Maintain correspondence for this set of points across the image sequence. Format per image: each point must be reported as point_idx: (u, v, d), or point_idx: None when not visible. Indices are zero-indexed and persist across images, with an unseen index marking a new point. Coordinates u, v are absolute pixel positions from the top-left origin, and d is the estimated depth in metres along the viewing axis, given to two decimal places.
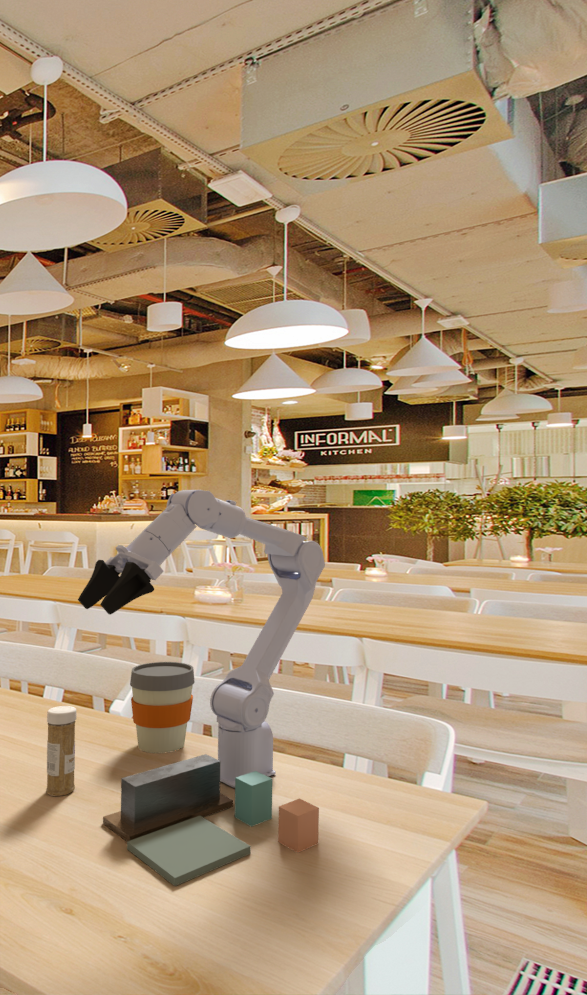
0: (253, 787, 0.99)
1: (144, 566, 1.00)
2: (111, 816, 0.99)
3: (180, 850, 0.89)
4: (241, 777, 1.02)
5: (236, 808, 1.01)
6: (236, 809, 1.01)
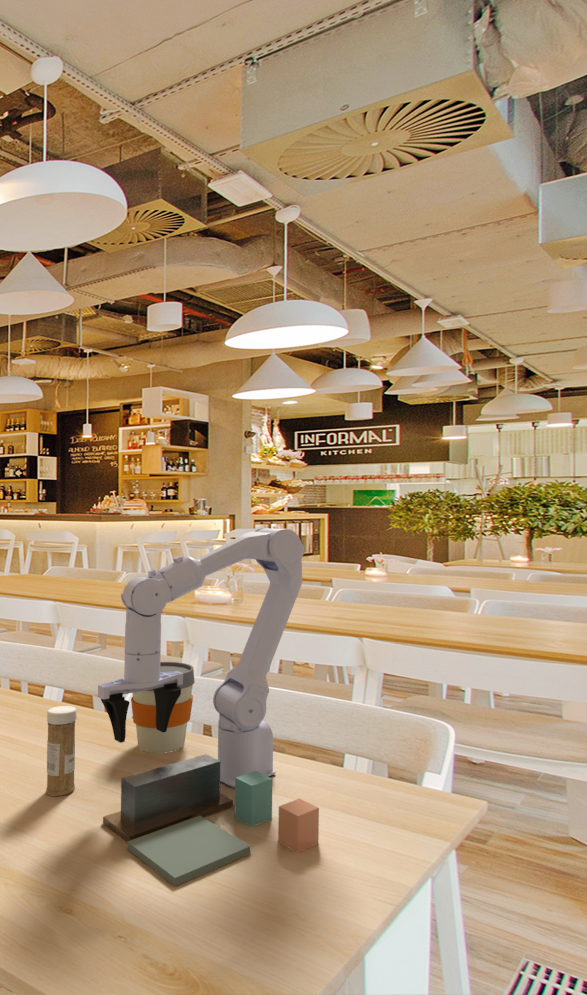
0: (253, 787, 0.99)
1: None
2: (111, 816, 0.99)
3: (180, 850, 0.89)
4: (241, 777, 1.02)
5: (236, 808, 1.01)
6: (236, 809, 1.01)
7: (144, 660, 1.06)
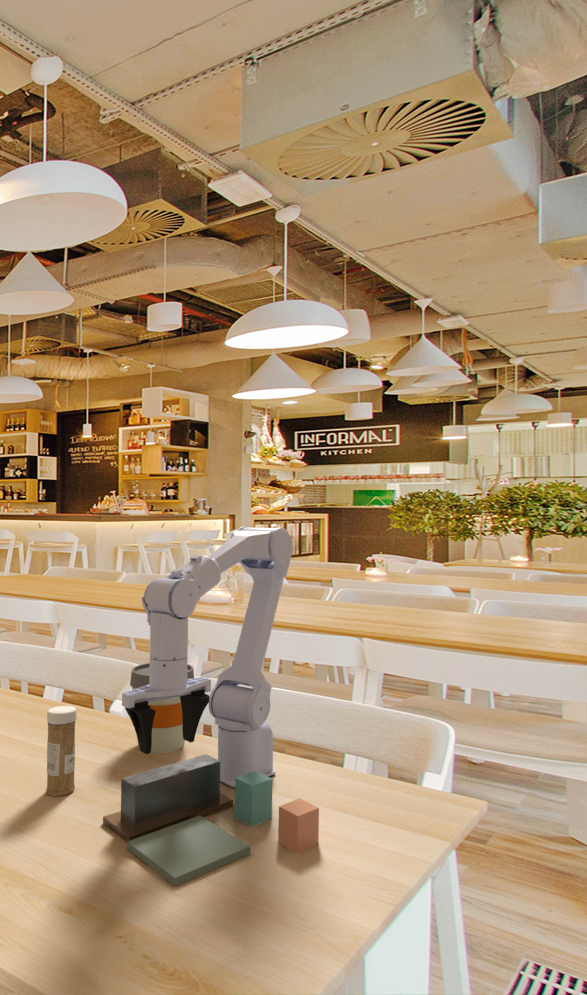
0: (253, 787, 0.99)
1: None
2: (111, 816, 0.99)
3: (180, 850, 0.89)
4: (241, 777, 1.02)
5: (236, 808, 1.01)
6: (236, 809, 1.01)
7: (171, 666, 1.00)
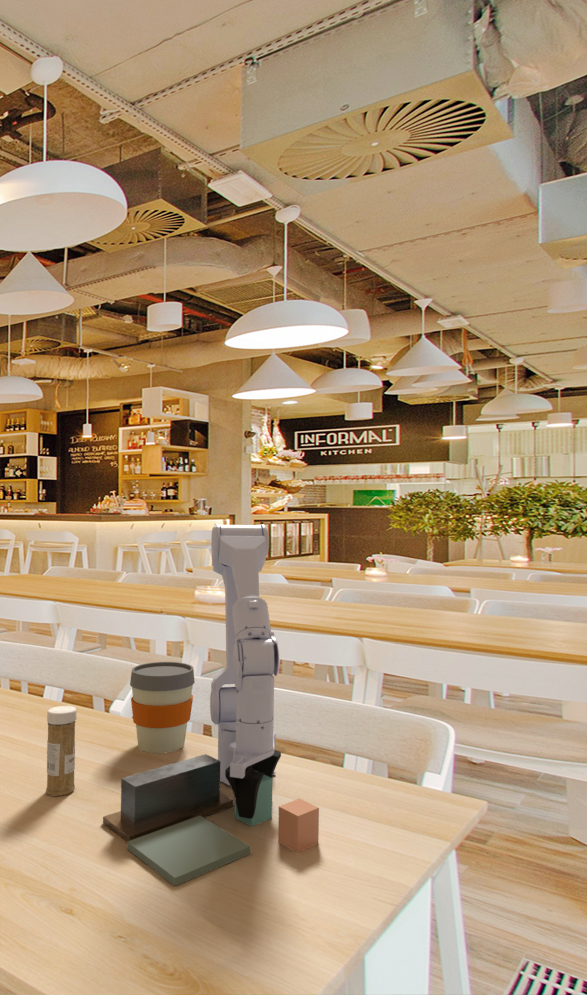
0: None
1: None
2: (111, 816, 0.99)
3: (180, 850, 0.89)
4: None
5: (236, 808, 1.01)
6: (236, 809, 1.01)
7: (268, 727, 1.00)
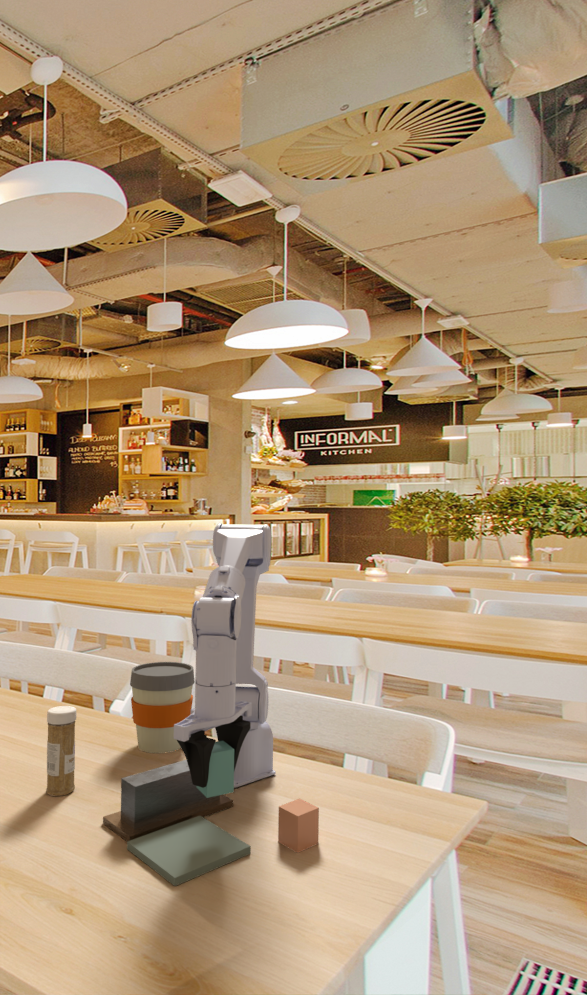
0: None
1: None
2: (111, 816, 0.99)
3: (180, 850, 0.89)
4: None
5: None
6: None
7: (224, 692, 0.93)
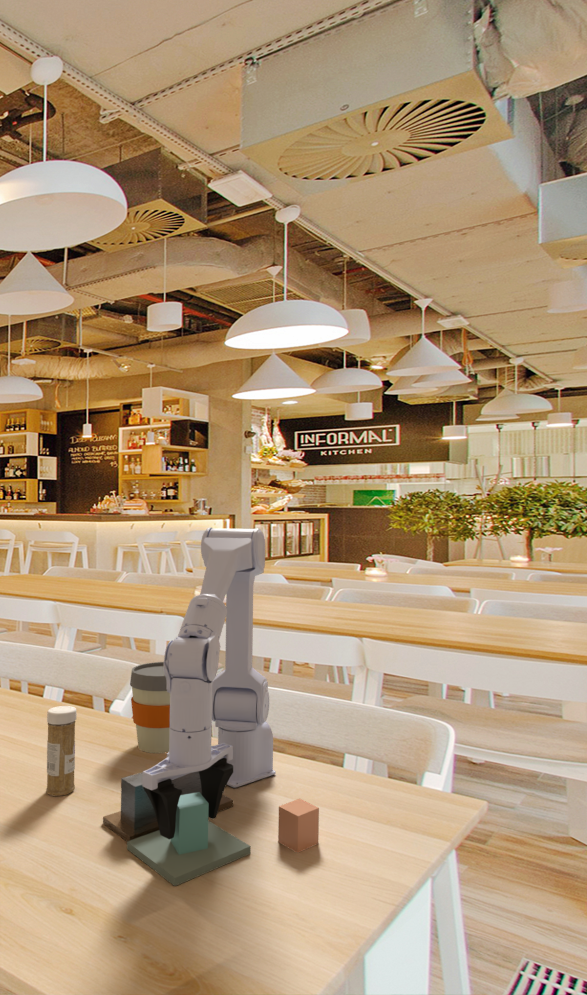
0: (181, 810, 0.88)
1: None
2: (111, 816, 0.99)
3: None
4: None
5: None
6: None
7: (196, 738, 0.89)
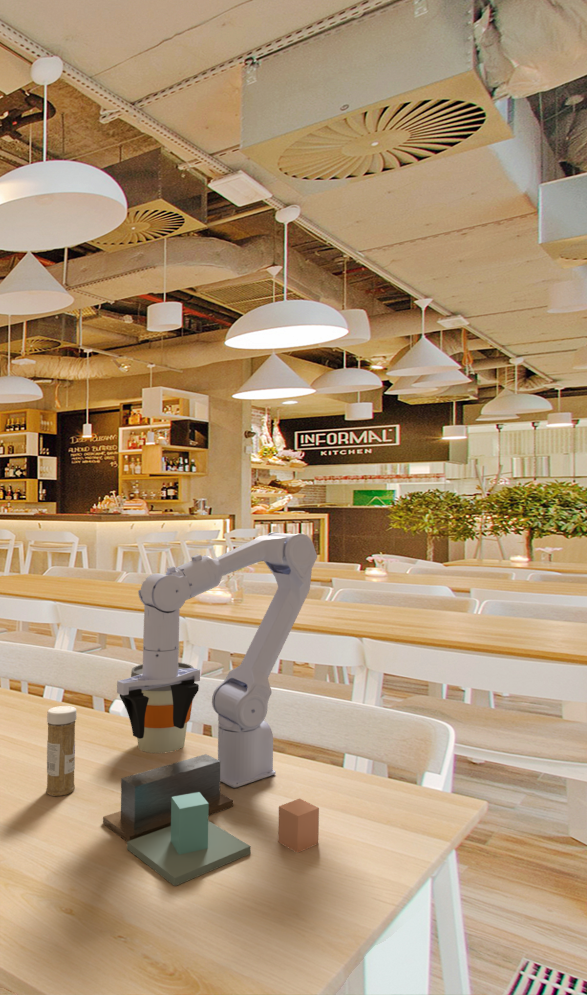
0: (181, 810, 0.88)
1: None
2: (111, 816, 0.99)
3: None
4: (177, 797, 0.92)
5: (171, 831, 0.92)
6: (171, 832, 0.92)
7: (163, 656, 1.07)
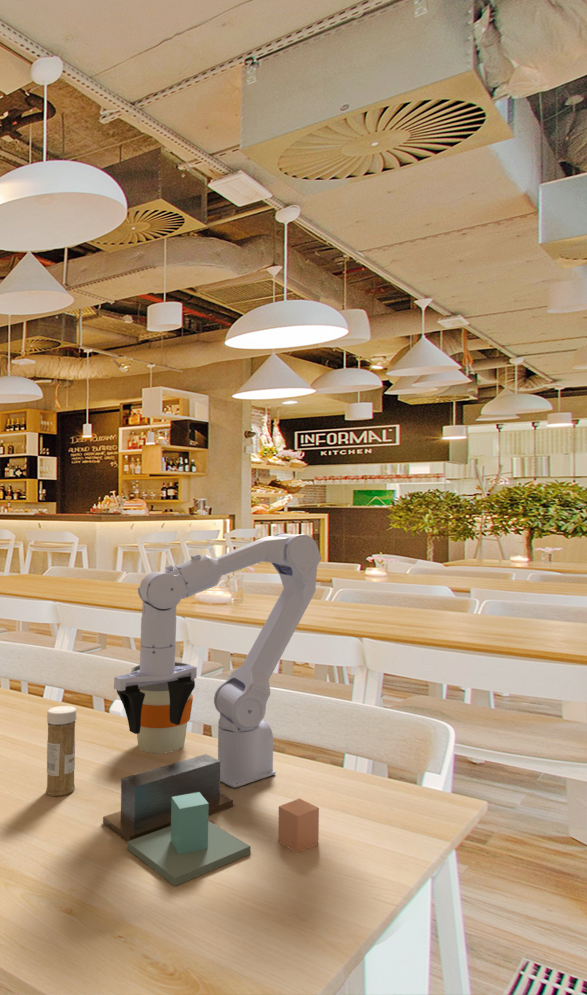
0: (181, 810, 0.88)
1: None
2: (111, 816, 0.99)
3: None
4: (177, 797, 0.92)
5: (171, 831, 0.92)
6: (171, 832, 0.92)
7: (160, 653, 1.08)
